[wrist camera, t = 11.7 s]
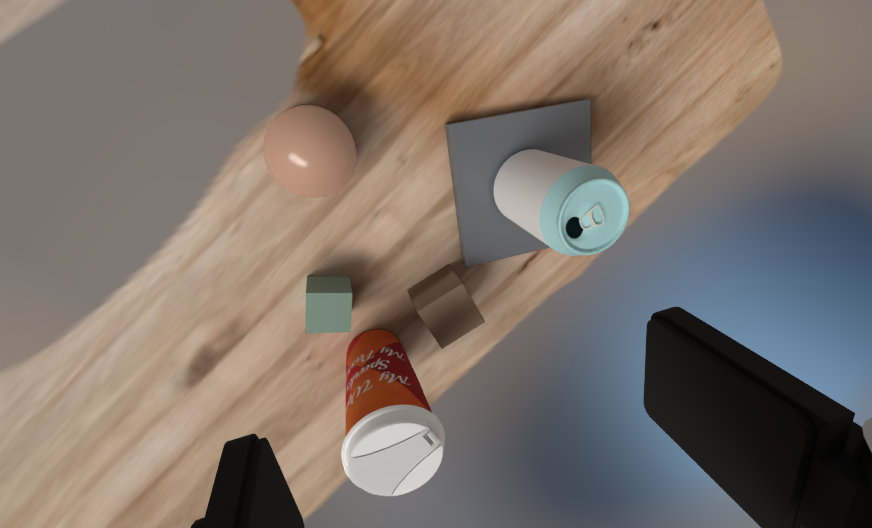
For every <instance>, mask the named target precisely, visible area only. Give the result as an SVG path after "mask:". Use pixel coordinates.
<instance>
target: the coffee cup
mask: <svg viewBox="0 0 872 528" xmlns="http://www.w3.org/2000/svg"><path fill="white" fill-rule="evenodd" d="M444 444H445V434H444V429H443V426H442V424H441V422H440V421H439V419H438V418H437V417H436V416H435V415H434V414H433V413H432V411H431V409H430V407H429V404H428V402H427V400H426V398H425V395H424V393H423V390H422V388H421V385H420V383H419V381H418V378H417V376H416V374H415V372H414V370H413V368H412V366H411V364H410V361H409V359H408V357H407V355H406V352H405V350H404V348H403V346H402V344H401V342H400V341H399V339H398V338H397V337H396V336H395V335H394V334H393V333H391V332H389V331H386V330H382V329H373V330H368V331H365V332H363V333H361V334H359V335H358V336H357V337H356V338H354V340H353V341H352V342H351V343H350V345H349V348H348V351H347V358H346V438H345V440H344V442H343V446H342V452H341V456H342V462H343V466H344V470H345V473H346V474H347V476H348V477H349V478H350V480H351V481H352V482H353V483H354V484H355V485H357V486H358V487H360V488H362V489H363V490H365V491H367V492H369V493H372V494H375V495H382V496H396V495H401V494H405V493H407V492H410V491H412V490H415V489H417V488H418V487H420V486H422V485H423V484H424V483H426V482H427V481H428V480H429V479H430V478H431V477H432V476H433V475H434V474H435V472H436V471H437V469H438V467H439V465H440V463H441V460H442V456H443V448H444Z"/></svg>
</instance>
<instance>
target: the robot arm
mask: <svg viewBox="0 0 872 528" xmlns="http://www.w3.org/2000/svg"><path fill="white" fill-rule="evenodd" d="M644 407H645V409H646V412H647V413H648V415H649V416H650V417H651V418H652V419H653V420H654V421H655V422H656V423H657V424H658V425H659V426H660V427H661V428H662V429H663V430H664V431H665V432H666V433H667V434H668V435H669V436H670V437H671V438H672V439H673V440H674V441H675V442H676V443H677V444H678V445H679V446H680V447H681V448H682V449H683V450H684V451H685V452H686V453H687V454H688V455H689V456H690V457H691V458H692V459H693V460H694V461H695V462H696V463H697V464H698V465H699V466H700V467H701V468H702V469H703V470H704V471H705V472H706V473H707V474H708V475H709V476H710V477H711V478H712V479H713V480H714V481H715V482H716V483H717V484H718V485H719V486H720V487H721V488H722V489H723V490H724V491H725V492H726V493H727V494H728V495H729V496H730V497H731V498H732V499H733V500H734V501H735V502H736V503H737V504H738V505H739V506H740V507H741V508H742V509H743V510H744V511H745V512H746V513H747V514H748V515H749V516H750V517H751V518H752V519H753V520H754V521H755V522H756V523H757V524H758V525H759V526H760V527H761V528H872V418H871V419H869V420H867V421H865V423H864V425H863V427H861V426H859V425H858V424H856V423H854V422H853V418H854V415H855V413H854V412H852V411H851V410H849V409H847V408H846V407H844V406H842V405H840V404H839V403H837V402H836V401H834V400H832V399H831V398H829V397H827V396H826V395H824V394H822V393H821V392H819V391H817V390H816V389H814V388H813V387H811V386H809V385H808V384H806V383H804V382H803V381H801V380H799V379H798V378H796V377H794V376H793V375H791V374H789V373H788V372H786V371H784V370H783V369H781V368H779V367H778V366H776V365H774V364H773V363H771V362H769V361H768V360H766V359H765V358H763V357H761V356H760V355H758V354H756V353H755V352H753V351H751V350H750V349H748V348H746V347H745V346H743V345H741V344H740V343H738V342H736V341H735V340H733V339H732V338H730V337H728V336H727V335H725V334H723V333H722V332H720V331H718V330H717V329H715V328H713V327H712V326H710V325H708V324H707V323H705V322H703V321H702V320H700V319H699V318H697V317H695V316H694V315H692V314H690V313H688V312H687V311H685V310H684V309H682V308H680V307H672V308H669V309H666V310H662V311H659V312H656V313H654V314H653V315H652V316H651V320H650V321H648V323H647V334H646V359H645V384H644ZM191 528H304V522H303V519H302V516H301V514H300V512H299V509H298V507H297V505H296V503H295V500H294V498H293V496H292V494H291V491H290V489H289V487H288V485H287V482H286V480H285V478H284V475H283V473H282V471H281V469H280V466H279V464H278V462H277V460H276V457H275V455H274V453H273V451H272V448H271V446H270V444H269V442H268V440H267V439H266V438H261V439H259V438H258V437H257V435H256V434H251V435H247V436H244V437H241V438H237V439H234V440H231V441H227V442H226V443H225V445H224V448H223V451H222V455H221V459H220V462H219V466H218V470H217V474H216V477H215V481H214V485H213V488H212V492H211V496H210V500H209V503H208V507H207V511H206V515H205V517H204V518H201V519H199V520H196V521H195V522H194V523H193V525H192V526H191Z"/></svg>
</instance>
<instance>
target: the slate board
mask: <svg viewBox="0 0 872 528" xmlns="http://www.w3.org/2000/svg"><path fill="white" fill-rule="evenodd" d="M445 129H446V137H447V144H448V152H449V160H450V168H451V175H452V183H453V191H454V198H455V206H456V214H457V222H458V229H459V237H460V245H461V253H462V260H463V264H464V265H465V266H466V267H470V266H474V265H478V264H482V263H486V262H491V261H495V260H499V259H503V258H507V257H512V256H516V255H520V254H524V253H528V252H532V251H537V250H541V249H545V248H549V246H548V245H546V244H545V243H544V242H542V241H541V240H539V239H538V238H536V237H535V236H533V235H532V234H530V233H529V232H527V231H526V230H524V229H523V228H521V227H520V226H519V225H517V224H516V223H514V222H513V221H511V220H510V219H508V218H507V217H505V216H504V215H503V214H502V213H501V212H500V210H499V209H498V207H497V205H496V202H495V199H494V183H495V179H496V176H497V173H498V171H499V170H500V168H501V166H502V165H503V164H504V163H505V162H506V161H507V160H508V159H509V158H510V157H511V156H513V155H514V154H516V153H518V152H520V151H524V150H529V149H535V150H540V151H544V152H548V153H551V154H555V155H559V156H562V157H566V158H570V159H573V160H577V161H581V162H584V163H588V164H591V99H581V100H575V101H570V102H564V103H558V104H553V105H547V106H542V107H536V108H531V109H525V110H519V111H514V112H508V113H503V114H497V115H491V116H486V117H480V118H475V119H469V120H464V121H458V122H452V123H447V124H445Z"/></svg>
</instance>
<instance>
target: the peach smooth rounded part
mask: <svg viewBox="0 0 872 528" xmlns="http://www.w3.org/2000/svg"><path fill="white" fill-rule="evenodd" d="M263 152H264V158H265V162H266V165H267V168H268V170H269V172H270V173H271V175H272V176H273V178H274V179H275V180H276V181H277V182H278V183H279V184H280V185H281V186H282V187H283V188H285V189H286V190H288V191H290V192H292V193H294V194H296V195H299V196H303V197H310V198H317V197H323V196H327V195H330V194H332V193H334V192H336V191H338V190H339V189H340V188H342V187H343V186H344V185H345V184H346V183H347V181H348V180H349V179H350V177H351V175H352V173H353V171H354V168H355V164H356V146H355V142H354V139H353V137H352V134H351V133H350V131H349V129H348V128H347V126H346V125H345V124H344V122H343V121H342V120H341V119H340V118H339V117H338V116H337V115H336V114H335V113H333V112H332V111H330V110H328V109H326V108H324V107H321V106H317V105H308V104H306V105H299V106H295V107H292V108H290V109H288V110H286V111H285V112H283V113H282V114H280V115H279V116H278V117H277V118H276V119H275V120H274V121H273V122H272V123H271V125H270V126H269V128H268V130H267V132H266V135H265V139H264V146H263Z"/></svg>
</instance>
